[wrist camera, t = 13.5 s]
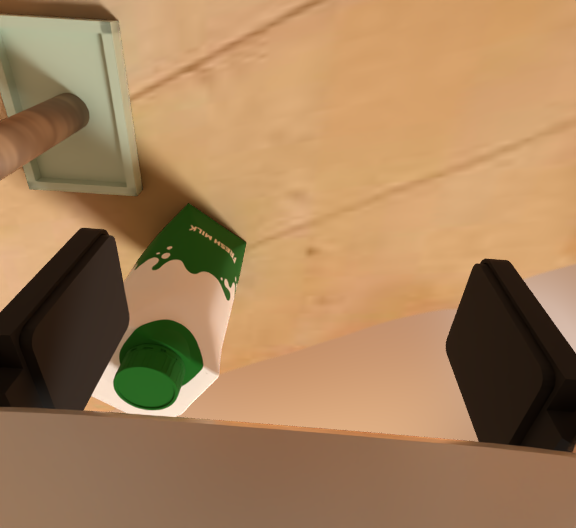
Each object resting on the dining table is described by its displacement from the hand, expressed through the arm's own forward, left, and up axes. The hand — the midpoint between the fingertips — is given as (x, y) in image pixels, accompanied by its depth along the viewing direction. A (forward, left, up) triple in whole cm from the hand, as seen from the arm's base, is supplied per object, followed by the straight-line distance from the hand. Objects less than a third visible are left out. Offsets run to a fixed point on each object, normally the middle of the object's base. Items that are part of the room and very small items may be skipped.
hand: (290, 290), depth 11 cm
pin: (+3, -20, -28) cm, 34 cm away
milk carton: (+16, -10, -28) cm, 34 cm away
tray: (+3, -20, -28) cm, 34 cm away
